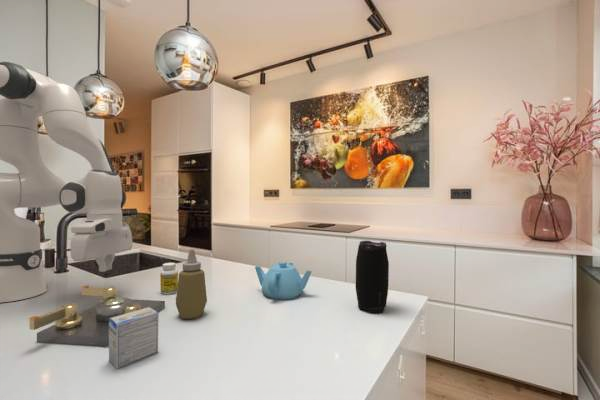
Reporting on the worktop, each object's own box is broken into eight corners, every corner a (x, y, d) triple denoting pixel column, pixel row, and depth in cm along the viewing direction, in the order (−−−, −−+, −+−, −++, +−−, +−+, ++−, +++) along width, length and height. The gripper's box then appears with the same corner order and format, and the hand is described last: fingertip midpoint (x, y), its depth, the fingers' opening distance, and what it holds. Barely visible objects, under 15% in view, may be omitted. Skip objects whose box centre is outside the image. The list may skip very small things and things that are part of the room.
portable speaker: (353, 302, 91) (354, 239, 91) (384, 304, 90) (385, 240, 90) (357, 313, 82) (358, 244, 82) (391, 315, 82) (392, 245, 82)
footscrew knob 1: (70, 318, 72) (70, 299, 72) (87, 320, 71) (87, 301, 71) (22, 339, 62) (22, 317, 62) (41, 341, 61) (41, 319, 61)
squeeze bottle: (173, 323, 75) (173, 253, 75) (177, 310, 83) (177, 247, 83) (206, 319, 77) (206, 251, 77) (207, 308, 85) (207, 246, 85)
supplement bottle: (176, 288, 102) (176, 261, 102) (179, 293, 98) (179, 264, 98) (159, 291, 99) (159, 263, 99) (161, 296, 95) (161, 266, 95)
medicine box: (149, 345, 64) (149, 306, 64) (158, 352, 61) (159, 311, 61) (108, 361, 58) (108, 317, 58) (116, 370, 55) (116, 324, 55)
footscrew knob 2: (124, 301, 84) (124, 284, 84) (111, 307, 79) (111, 290, 79) (90, 299, 85) (90, 283, 85) (75, 305, 80) (75, 288, 80)
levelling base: (36, 342, 65) (36, 316, 65) (110, 305, 87) (110, 286, 87) (108, 346, 63) (108, 320, 63) (164, 307, 85) (164, 288, 85)
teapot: (253, 290, 102) (253, 259, 102) (291, 284, 109) (292, 255, 109) (269, 305, 89) (270, 269, 89) (312, 297, 96) (313, 264, 96)
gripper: (119, 221, 98) (120, 263, 98) (65, 227, 78) (65, 279, 77) (137, 221, 97) (138, 263, 97) (87, 227, 77) (88, 279, 77)
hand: (105, 270), depth 87 cm, fingers closed
